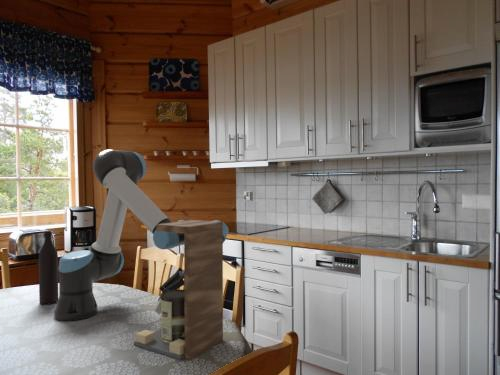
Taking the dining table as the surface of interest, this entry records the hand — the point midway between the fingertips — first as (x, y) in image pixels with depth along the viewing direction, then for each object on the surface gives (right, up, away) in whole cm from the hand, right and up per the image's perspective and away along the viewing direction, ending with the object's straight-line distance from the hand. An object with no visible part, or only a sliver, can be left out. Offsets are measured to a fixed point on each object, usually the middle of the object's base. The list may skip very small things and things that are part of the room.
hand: (172, 316), depth 124 cm
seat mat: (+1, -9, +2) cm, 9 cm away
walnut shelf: (+6, -9, -1) cm, 11 cm away
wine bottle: (-60, -8, +42) cm, 74 cm away
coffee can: (+1, -8, +2) cm, 8 cm away
